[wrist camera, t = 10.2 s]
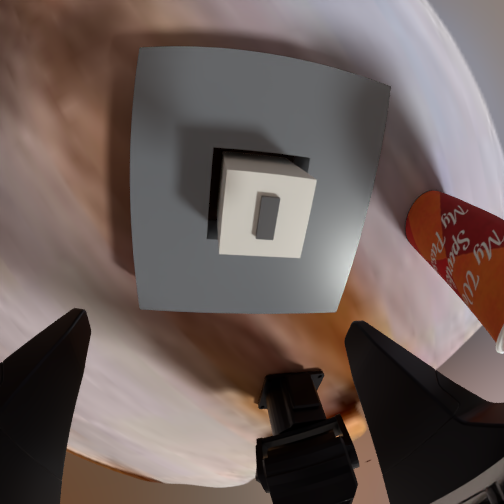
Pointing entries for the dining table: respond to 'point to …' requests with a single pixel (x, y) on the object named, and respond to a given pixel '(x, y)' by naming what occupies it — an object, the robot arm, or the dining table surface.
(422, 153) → the dining table surface
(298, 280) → the socket plate
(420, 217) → the paper cup
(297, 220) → the block
